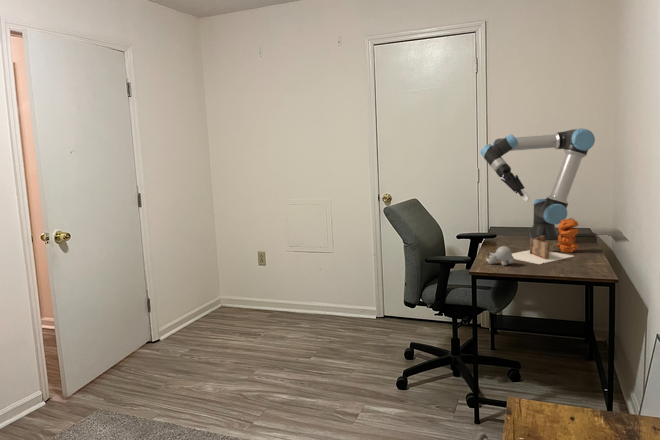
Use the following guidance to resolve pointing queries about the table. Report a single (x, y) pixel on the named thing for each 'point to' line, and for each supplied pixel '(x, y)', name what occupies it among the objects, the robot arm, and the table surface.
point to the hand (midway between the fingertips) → (527, 199)
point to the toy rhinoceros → (501, 256)
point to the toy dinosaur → (567, 235)
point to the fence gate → (541, 248)
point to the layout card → (539, 257)
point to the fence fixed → (536, 239)
